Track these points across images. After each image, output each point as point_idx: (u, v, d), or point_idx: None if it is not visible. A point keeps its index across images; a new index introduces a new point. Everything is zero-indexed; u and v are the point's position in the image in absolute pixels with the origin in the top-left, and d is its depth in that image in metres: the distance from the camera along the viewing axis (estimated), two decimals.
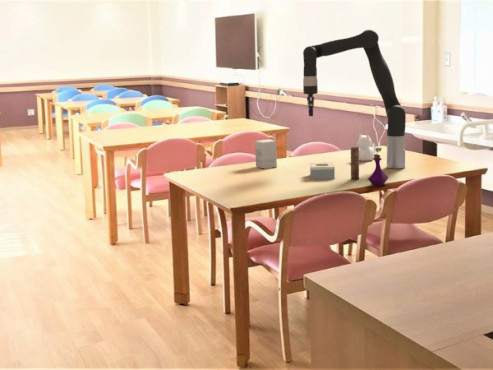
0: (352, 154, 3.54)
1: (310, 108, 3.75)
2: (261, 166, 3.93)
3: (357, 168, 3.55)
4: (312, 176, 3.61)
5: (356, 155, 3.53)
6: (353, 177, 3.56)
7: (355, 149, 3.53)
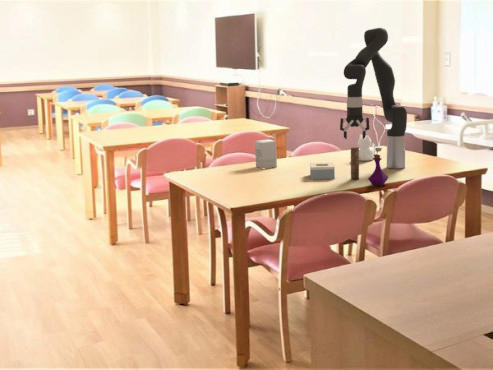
0: (352, 154, 3.54)
1: (367, 129, 3.52)
2: (261, 166, 3.93)
3: (357, 168, 3.55)
4: (312, 176, 3.61)
5: (356, 155, 3.53)
6: (353, 177, 3.56)
7: (355, 149, 3.53)
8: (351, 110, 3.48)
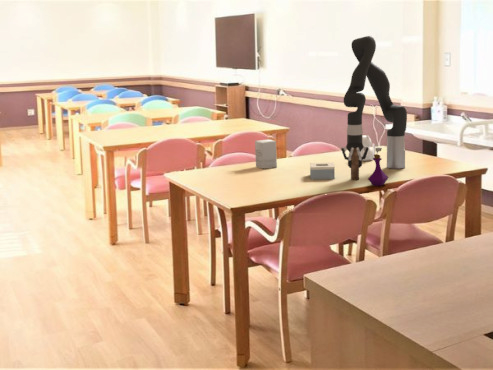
0: (352, 154, 3.54)
1: None
2: (261, 166, 3.93)
3: (358, 168, 3.55)
4: (312, 176, 3.61)
5: (356, 155, 3.53)
6: (353, 177, 3.56)
7: (355, 149, 3.53)
8: (351, 138, 3.50)
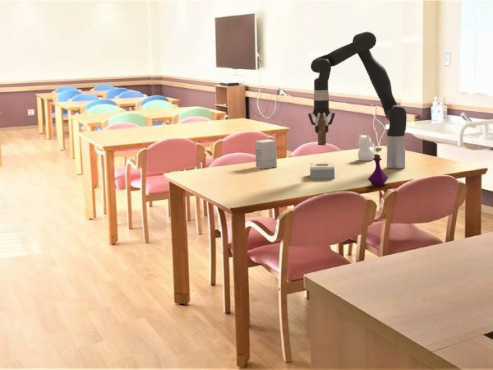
0: (319, 119, 3.59)
1: None
2: (261, 166, 3.93)
3: (324, 133, 3.60)
4: (312, 176, 3.61)
5: (322, 120, 3.59)
6: (320, 142, 3.61)
7: (322, 114, 3.58)
8: (317, 103, 3.56)
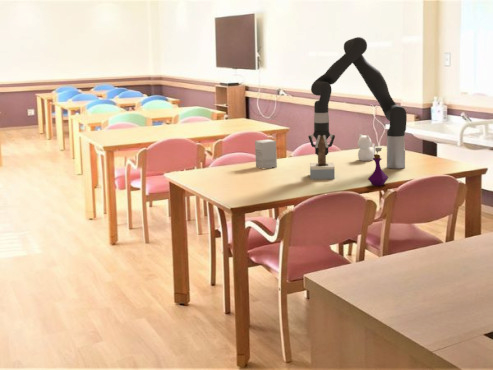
0: (319, 141, 3.62)
1: (330, 146, 3.63)
2: (261, 166, 3.93)
3: (324, 155, 3.63)
4: (312, 176, 3.61)
5: (322, 142, 3.61)
6: (320, 164, 3.64)
7: (322, 137, 3.60)
8: (317, 125, 3.58)
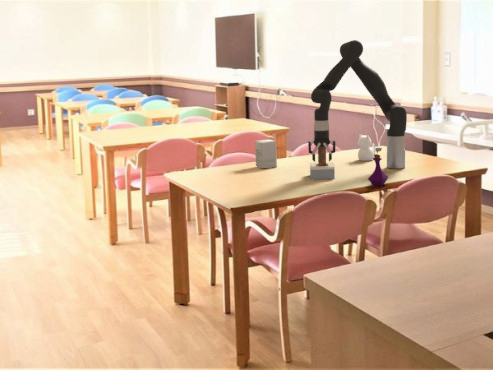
0: (319, 152, 3.63)
1: (333, 152, 3.63)
2: (261, 166, 3.93)
3: (325, 165, 3.64)
4: (312, 176, 3.61)
5: (323, 153, 3.62)
6: None
7: (322, 147, 3.62)
8: (317, 133, 3.59)
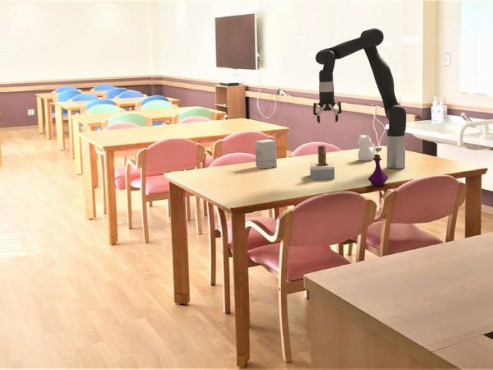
0: (319, 152, 3.63)
1: (339, 113, 3.62)
2: (261, 166, 3.93)
3: (325, 165, 3.64)
4: (312, 176, 3.61)
5: (323, 153, 3.62)
6: None
7: (322, 147, 3.61)
8: (323, 94, 3.57)
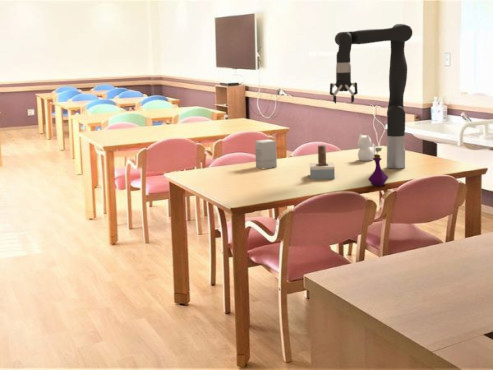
0: (319, 152, 3.63)
1: (355, 94, 3.70)
2: (261, 166, 3.93)
3: (325, 165, 3.64)
4: (312, 176, 3.61)
5: (323, 153, 3.62)
6: None
7: (322, 147, 3.62)
8: (339, 75, 3.66)
